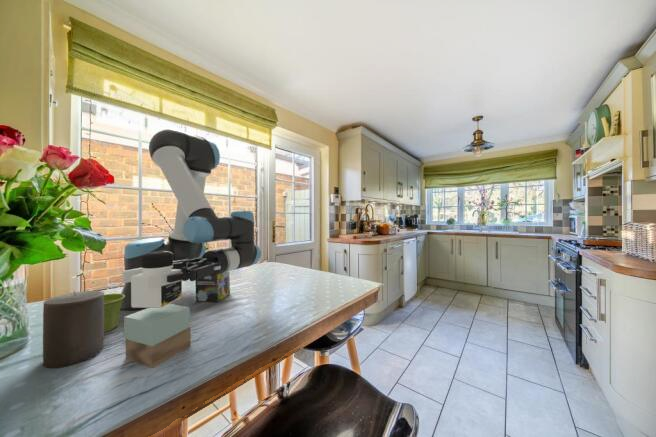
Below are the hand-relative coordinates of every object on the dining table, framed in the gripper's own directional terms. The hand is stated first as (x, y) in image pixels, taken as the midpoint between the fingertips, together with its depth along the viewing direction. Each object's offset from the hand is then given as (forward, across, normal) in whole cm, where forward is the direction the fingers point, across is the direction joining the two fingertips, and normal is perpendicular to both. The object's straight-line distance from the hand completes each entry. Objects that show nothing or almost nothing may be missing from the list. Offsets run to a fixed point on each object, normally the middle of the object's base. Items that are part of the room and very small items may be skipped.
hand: (135, 279), depth 52 cm
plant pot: (-5, +26, -19) cm, 33 cm away
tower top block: (-4, 0, -14) cm, 14 cm away
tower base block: (-5, 0, -19) cm, 19 cm away
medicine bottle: (-5, 0, -7) cm, 8 cm away
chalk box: (-36, +19, -19) cm, 45 cm away
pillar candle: (+4, +16, -19) cm, 25 cm away
